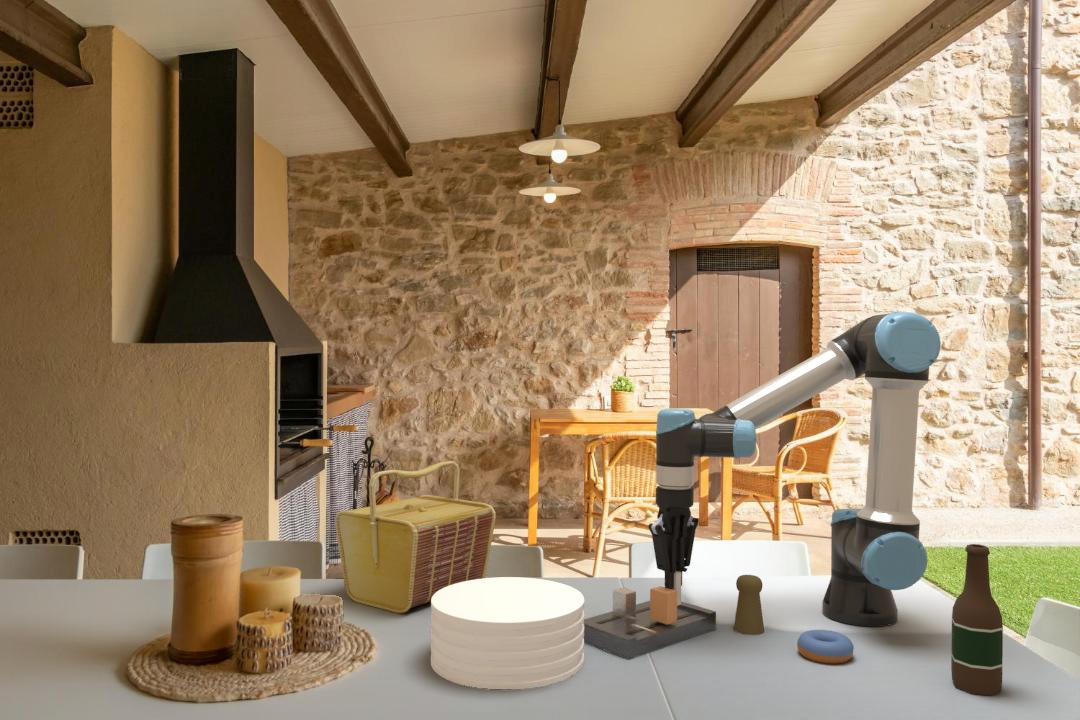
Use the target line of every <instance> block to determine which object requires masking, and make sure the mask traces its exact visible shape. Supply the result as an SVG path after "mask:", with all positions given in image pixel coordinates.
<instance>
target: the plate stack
mask: <svg viewBox="0 0 1080 720" xmlns="http://www.w3.org/2000/svg"><path fill="white" fill-rule="evenodd" d="M430 609H431V613H430V623H431V626H430V638H431V639H430V652H431V654H430V665H431V668H432V670H433V671H434V672H435V673H436V674H437V675H438V676H440V677H442V678H443V679H444V680H447V681H449V682H451V683H454V684H457V685H460V686H464V685H465V687H469V686H470V687H469V688H474V687H477V688H476V689H481V688H488V689H487V690H490V689H521V688H528V687H535V686H540V685H545V684H550V683H553V682H557V681H560V680H563V679H565V678H567V677H570V676H571V675H573V674H574V673H576V672H577V671H578V670H579V669H580V668H581V667H582V665H583V666H584V664H583V663H585V653H584V650H585V642H584V638H583V637H584V624H583V623H584V619H585V611H584V609H585V597H584V595H583V594H582V592H581V591H580V590H578V589H576V588H574V587H573V586H570V585H568V584H564V583H561V582H558V581H553V580H549V579H542V578H533V577H519V576H515V577H514V576H502V577H500V576H499V577H485V578H483V579H475V580H469V581H464V582H460V583H456V584H452V585H449V586H447V587H444V588H442V589H440V590H439V591H437V592H436V593H435V594H434V595H433V596H432V598H431V601H430ZM582 668H583V667H582ZM582 668H581V669H582ZM576 674H577V673H576ZM573 676H574V675H573ZM570 678H571V677H570ZM471 686H472V687H471ZM521 690H522V689H521Z"/></svg>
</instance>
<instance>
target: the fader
mask: <svg viewBox="0 0 1080 720" xmlns="http://www.w3.org/2000/svg"><path fill="white" fill-rule="evenodd" d="M649 589H650V590H649V601H650V619H652V620H655V621H658V622H661V623H664V624H670V623H673V622H677V591H676V590H672V589H669V588H665V586H661V585H660V586H655V587H652V588H651V587H650V588H649Z"/></svg>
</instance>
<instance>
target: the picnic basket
mask: <svg viewBox="0 0 1080 720" xmlns="http://www.w3.org/2000/svg"><path fill="white" fill-rule="evenodd" d="M446 466H452V467H453V470H454V477H453V491H452V498H451V497H450V498H449V497H444V496H438V495H431V494H430V495H429V494H422V495H420V496H419V497H412V498H408V499H401V500H397V501H392V502H386V503H381V504H377V503H376V498H377V497H376V482H377V480H378V478H379V477H382V476H389V475H394V476H396V477H399V478H403V479H418V478H422V477H427V476H428V475H430V474H434V473H435V472H436V471H437V470H438V469H440V468H441V467H446ZM460 473H461V470H460V466H459V464H458V463H457V462H455V461H454V460H453V461H452V460H449V461H443V462H438V463H435V464H432V465H430V466H427V467H425V468H423V469H419V470H413V471H412V470H411V471H408V470H403V469H401V470H400V469H389V470H381V471H377V472H375V473H374V474H373V475H372V476H371V477H370V478H369V482H368V483H369V484H368V491H369V495H368V496H369V506H364V507H360V508H355V509H350V510H340V511H338V512H337V513H336V515H335V518H334V526H335V531H336V539H337V544H338V545H337V547H338V552H339V556H340V564H341V571H342V576H343V583H344V584H343V585H344V588H345V591H346V593H347V595H348V596H349V598H351V600H353V601H354V602H356V603H359V604H363V605H365V606H366V605H367V606H370V607H374V608H377V609H381V610H385V611H389V612H392V613H397V614H404V613H406V612H408V611H409V610H410V609H412V608H416V607H418V606H421V605H424V604H427V603H431V598H432V596H433V595H434V594H435V593H436V592H437V591H439V590H440V589H442V588H444V587H447V586H449V585H452V584H456V583H460V582H464V581H469V580H475V579H483V578H486V574H487V569H488V568H487V567H488V564H489V563H488V562H489V557H490V552H491V547H492V541H493V536H494V530H495V526H496V525H495V523H496V518H497V515H496V514H497V513H496V511H495V508H494V507H493V506H492V505H490V504H489V503H485V502H479V501H473V500H472V501H471V500H467V499H459V489H460Z"/></svg>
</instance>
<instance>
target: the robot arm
mask: <svg viewBox="0 0 1080 720" xmlns="http://www.w3.org/2000/svg"><path fill="white" fill-rule="evenodd" d="M941 345H942V344H941V337H940V334H939V332H938V329H937V328H936V326H935V325H934V324H933V323H932V321H930V320H929V319H928V318H927V317H925V316H923V315H921V314H918V313H916V312H912V311H911V312H909V311H893V312H890V313H889V312H888V313H885V314H876V315H875V314H874V315H872V316H870V317H867V318H865V319H862V321H860V322H859V323H857V324H855V325H853V326H852V327H851V328H849V329H848V330H846V331H845V332H843V333H841V334H840V335H838V336H836V337H835V338H833V339H831V340H830V341H828V342H827V344H826V348H825V349H824V350H822V351H819V352H818V353H816V354H815V355H812V356H811V357H809V358H807V359H806V360H804V361H802V362H800V363H798V364H797V365H795V366H793V367H792V368H789V369H788V370H786V371H785V372H782V373H780V374H779V375H777V376H776V377H773V378H772V379H770V380H769V381H766V382H764V383H763V384H761V385H760V386H757V387H756V388H754V389H752V390H750V391H749V392H747V393H746V394H743V395H741V396H740V397H738V398H737V399H734V400H733V401H730V402H729V403H727V404H725V406H722V407H720V408H719V409H716V410H715V411H713V412H712V413H706V414H703V415H701V416H699V417H698V418H696V415H695V411H694V410H692V409H688V408H687V409H686V408H663V409H661V410H659V411H658V413H657V416H656V430H655V453H656V454H655V455H656V456H655V460H656V461H655V464H656V466H655V483H656V484H657V486H656V488H655V505H657V507H658V513H657V516H656V518H657V519H656V521H654V523H652V522H651V523H650V522H649V524H648V529H649V532H650V534H651V538H652V544H653V545H652V546H653V551H654V556H655V563H656V569H657V570H660V571H663V572H664V587H665V588H669V589H672V590H676V591H677V606H678V605H681V601H682V595H681V594H682V587H683V572H685V573H686V572H687V570H688V568H686V567H690V565H691V560H692V554H693V549H694V541H695V535H696V530H697V528H698V525H699V522H700V519H699V518H697V517H694V516H692V512H691V509H690V508H692V507H693V506H694V495H695V494H694V491H695V490H694V488H693V485H694V484H695V458H702V457H704V458H706V457H707V458H731V459H732V458H735V459H739V458H740V459H741V458H751V457H753V456H754V454H755V452H756V448H757V432H756V431H757V430H756V429H758V428H760V427H762V426H764V425H766V424H767V423H768V422H771V421H772V420H774V419H777V418H778V417H780V416H781V415H783V414H785V413H787V412H788V411H790V410H792V409H795V408H796V407H797V406H800V405H801V404H803V403H804V402H806V401H808V400H810V399H812V398H814V397H816V396H817V395H819V394H821V393H823V392H824V391H826V390H829V389H830V388H832V387H834V386H835V385H837V384H839V383H841V382H842V381H844V380H848V381H854V380H856V379H858V378H859V377H861V376H863V375H864V379H865V381H867V382H868V384H869V385H870V386H871V388H872V389H871V391H872V392H871V404H870V405H871V408H870V409H871V410H870V420H869V421H870V425H869V439H868V440H869V441H868V456H867V457H868V458H867V473H866V488H865V489H866V491H865V503H864V504H865V505H864V507H863V508H837V509H835V510H834V511H833V512H832V515H831V522H830V527H831V528H830V529H831V532H830V533H831V535H830V539H831V540H830V542H831V545H830V547H831V548H830V553H831V556H830V561H831V563H830V566H831V568H830V570H831V571H830V572H831V573H830V580H829V583H828V586H827V588H826V590H825V594H824V597H823V599H822V606H821V608H822V609H821V611H822V614H823V615H824V616H825V617H827V618H828V619H831V620H833V621H836V622H839V623H843V624H848V625H854V626H861V627H887V626H890V625H893V624H894V625H895V624H896V623H897V622H898V619H899V615H898V613H899V612H898V607H897V604H896V602H895V597H894V595H893V591H900V590H905V589H909V588H911V587H912V586H913V585H915V584H916V583H917V582H919V581H920V580H921V579H922V577H923V576H924V574H925V573H926V570H927V567H928V553H927V550H926V548H925V546H924V544H923V543H922V542H921V541H920V527H921V526H920V525H921V521H920V519H919V517H917V516H916V515H915V514H914V512H913V500H914V499H913V498H914V486H915V485H914V483H915V482H914V481H915V464H916V449H917V433H918V431H917V430H918V417H919V416H918V415H919V400H920V399H919V398H920V391H921V389H923V388H924V387H925V386H926V385H927V384H928V383H929V380H930V379H929V377H930V376H929V375H930V367H931V366H932V365H933V364H934V363H935V362H936V361H937V359H938V358H939V355H940V352H941Z"/></svg>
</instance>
